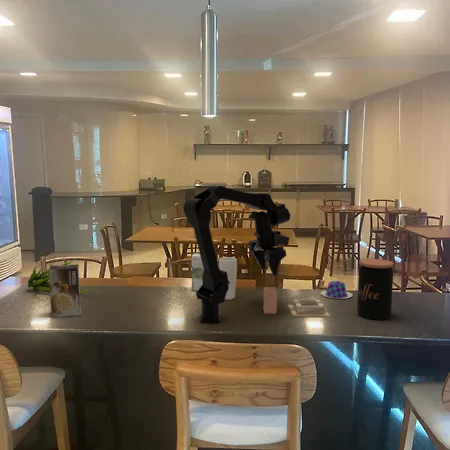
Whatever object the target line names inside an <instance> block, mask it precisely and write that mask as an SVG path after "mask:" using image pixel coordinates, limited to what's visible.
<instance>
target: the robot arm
mask: <svg viewBox="0 0 450 450" xmlns="http://www.w3.org/2000/svg"><path fill="white" fill-rule="evenodd" d="M220 200H223V201H228V202H232V203H233V202H234V203H239V204H243V205H244V206H246V207H248V208H250V209H252V210H254V211H251V213H250V214H249V215H248V219H251V220H254V227H255V231H254V232H253V236H256V239H252V240H249V242H248V244H247V247H248V249H249V250H250V252H251V254H252V255H253V257H254V258H255V260H256V261H257V263H258V265H259V267H260V268H261V269H262V270H265V269H266V263H267V266H268V268H269V270H270V272H271V274H272V276H273V277H276V276H277V275H278V270H279V265H280V262H281V260H282V259H283V260H284V259H285V258H286V257H287V250H286V249H284V248H283V247H280V246H279V245H281V246H285V247H288V246H289V241H290V236H287V235H285V234H282V233H281V231H278V230H273V227H275V226H280V225H282V224H285V223H288V222H289V221H290V219H291V213H290V211H289V210H288V208H287V207H286V204H285V203H279V204H276V203H275V201H273V199H272V196H271V194H270V193H267V192H247V191H241V190H237V189H233V188H227V187H223V186H221V185H210V186H209V187H207V188H206V189H205V190H203V191H201V192H200V193H198V194H196V195H194V196H193V197H192V198H191V197H190V198H188V199H187V200H186V201H185V202H184V204H183V207H182V209H183V212H184V215H185V217H186V220H187V221H188V223H189V224H190V225H191V227H192V228H193V231H194V235H195V239H196V244H197V248H198V253H200V256H201V260H202V264H203V268H204V272H203V276H202V283H203V284H202V286H201V287H200V288H199V290H198V291H195V295H196V299H198V300H201V314H200V318H199V322H200V323H221V322H222V317H221V314H220V304H224V303H225V297H226V293H227V291H228V290H229V285H228V284H230V282H229V281H228V275H227V272H225V271H222V270H220V269H219V261H218V258H217V254H216V250H215V246H214V245H215V244H214V242H213V238H212V236H213V235H212V233H211V229H210V228H211V227H210V223H211V219H212V213H211V212H212V210H213V209H215V208H216V207H217V205H218V203H219V201H220ZM255 210H258V211H255ZM259 210H260V211H259Z"/></svg>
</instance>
